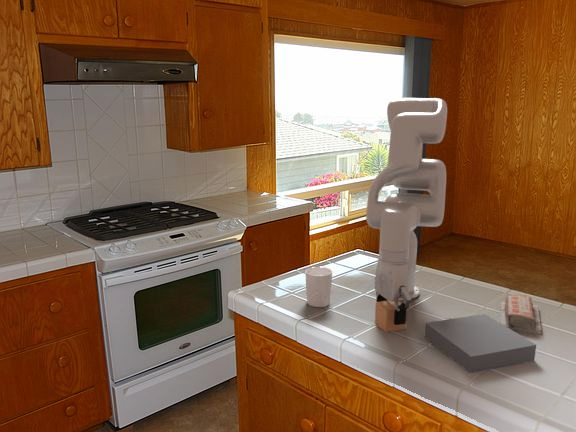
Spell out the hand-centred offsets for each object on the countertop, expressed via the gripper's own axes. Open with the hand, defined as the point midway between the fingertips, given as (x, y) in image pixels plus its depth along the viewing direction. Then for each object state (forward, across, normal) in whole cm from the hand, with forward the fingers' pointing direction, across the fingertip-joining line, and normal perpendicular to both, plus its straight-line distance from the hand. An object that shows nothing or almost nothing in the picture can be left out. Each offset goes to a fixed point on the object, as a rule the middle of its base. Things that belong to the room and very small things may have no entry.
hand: (390, 316), depth 136 cm
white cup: (+3, -21, -12) cm, 24 cm away
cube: (+3, -1, 0) cm, 3 cm away
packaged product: (+3, +6, +37) cm, 38 cm away
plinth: (+3, +17, +14) cm, 23 cm away
